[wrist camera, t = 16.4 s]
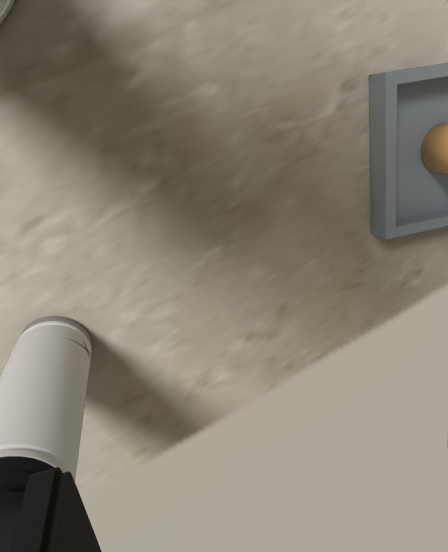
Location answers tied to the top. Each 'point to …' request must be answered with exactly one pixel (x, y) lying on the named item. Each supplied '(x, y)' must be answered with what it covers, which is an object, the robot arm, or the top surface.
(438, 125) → the battery cell
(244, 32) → the top surface
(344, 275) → the top surface
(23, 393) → the travel mug
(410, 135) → the tray
